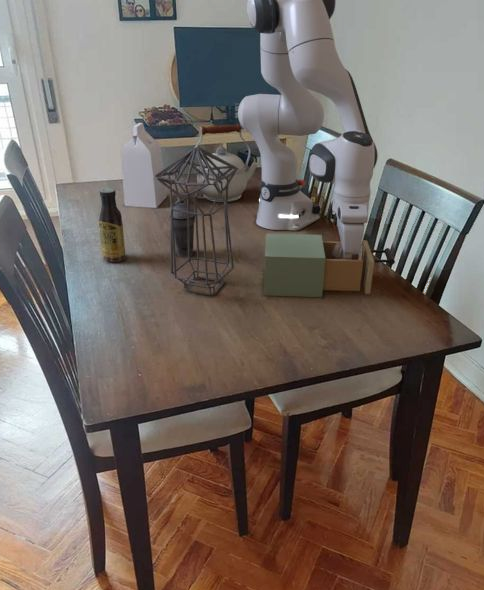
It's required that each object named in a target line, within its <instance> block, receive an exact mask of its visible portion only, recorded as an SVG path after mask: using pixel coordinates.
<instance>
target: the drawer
mask: <svg viewBox="0 0 484 590" xmlns="http://www.w3.org/2000/svg"><path fill="white" fill-rule="evenodd" d="M338 242H339V241H333V240H332V241H330V240H327V241H325V240H323V246H324V252H325V269H324V281H323V291H346V292H347V291H348V292H349V291H350V292H360V290H361V284H362V287H363V291H364V294H365V295H370V294H371V289H372V281H373V275H374V267H375V263H384V264H387V263H388V265H390V266H394V265H395V263H396V260H395V257H394V254H393V253H392V251H391V249H390V248H389V247H386V248H385V249H371V247H370V244H369V242H368V240H364V239H362V242H361V252H360V259H358V260H346V259H331V257H332V251H333V249H334V247H335V245H336V244H337V243H338ZM373 253H374V254H384V255H385V258H386V259H382V258H381V259H380V258H379V259H378V258H377V259H376V258H374V256H373Z"/></svg>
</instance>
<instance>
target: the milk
mask: <svg viewBox="0 0 484 590" xmlns="http://www.w3.org/2000/svg"><path fill="white" fill-rule="evenodd" d="M120 159H121V172H122V173H121V174H122V187H123V188H122V189H123V201H124V207H135V208H136V207H137V208H150V209H151V208H152V209H157V208H158V207H159V206H160V205H161V204H162V203H163V202H164V201H165V200H166V198H167V189H166V186H165V185H163V184H162V183H161V182H160V181H158V180H157V179H156V178H155V175H156V174H157V173H159V172H160V171H162V170H163V169H164V165H163V157H162V149H161V145H160V143H158V141H157V140H156V139H154V138H153V136H152V135H150V133H148V131H146V128H145V125H144V123H143V122H138V123H137V124H135V125H133V126H132V137H131V138H130V139H129V140H128V141H127V142H126V143H125V144H124V146H123V147H122V149H121V151H120ZM161 177H162V178H165V175H164V176H161ZM163 182H164V181H163Z"/></svg>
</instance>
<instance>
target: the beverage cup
mask: <svg viewBox="0 0 484 590" xmlns="http://www.w3.org/2000/svg"><path fill="white" fill-rule="evenodd" d="M177 190H178V191H179V189H178V187H177ZM180 199H181V198H180V196H178V198H177V200H176V203H177V202H179V201H181V200H180ZM176 203H175V204H176ZM173 209H175V210H181V211H187V200H184V201H182V202H180V203H179V204H177V205H176V206H174V207H173ZM189 210H190V212H194V213H195V208H194V207H193V206H192V204H191V203H190V202H189ZM169 220H170V221H171V216H170V214H169ZM173 221H174V239H175V251H176V254H177V256H178V257H182V258H188V218H187V213H183V212H177V211H173ZM195 222H196V221H195V214H190V257H191V256H193V254H194V234H195V233H194V232H195Z"/></svg>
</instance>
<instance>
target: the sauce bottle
mask: <svg viewBox="0 0 484 590" xmlns="http://www.w3.org/2000/svg"><path fill="white" fill-rule="evenodd" d="M116 195H117V193H116V189H115V188H112V187H103V188H100V189H99V196H100V202H101V209H100V213H99V219H98V227H99V234H100V243H101V244H100V245H101V252H102V255H103V260H104V261H105V262H108V263H119V262H121V261H123V260H125V258H126V246H125V245H126V243H125V235H124V234H125V233H124V225H123V217H122V213H121V210H119V208H118V206H117V200H116Z"/></svg>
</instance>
